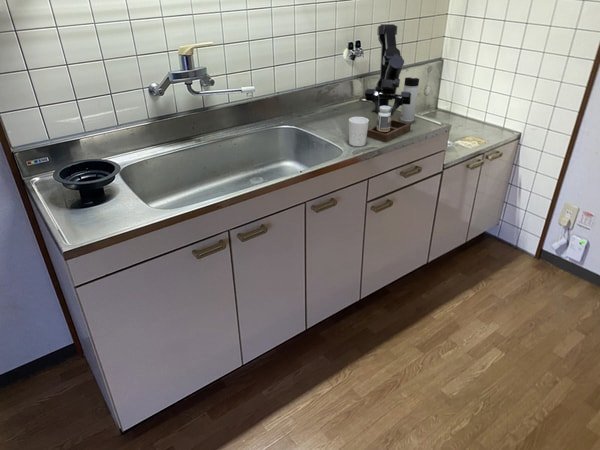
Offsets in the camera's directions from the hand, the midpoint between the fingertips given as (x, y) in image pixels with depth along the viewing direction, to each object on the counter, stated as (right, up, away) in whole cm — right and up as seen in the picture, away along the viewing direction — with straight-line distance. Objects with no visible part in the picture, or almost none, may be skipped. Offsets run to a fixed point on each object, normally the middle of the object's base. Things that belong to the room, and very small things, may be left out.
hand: (384, 115), depth 191 cm
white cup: (-11, -12, -1) cm, 16 cm away
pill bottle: (+1, -5, +5) cm, 7 cm away
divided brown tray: (+3, -6, +9) cm, 11 cm away
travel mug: (+14, +2, +22) cm, 26 cm away
